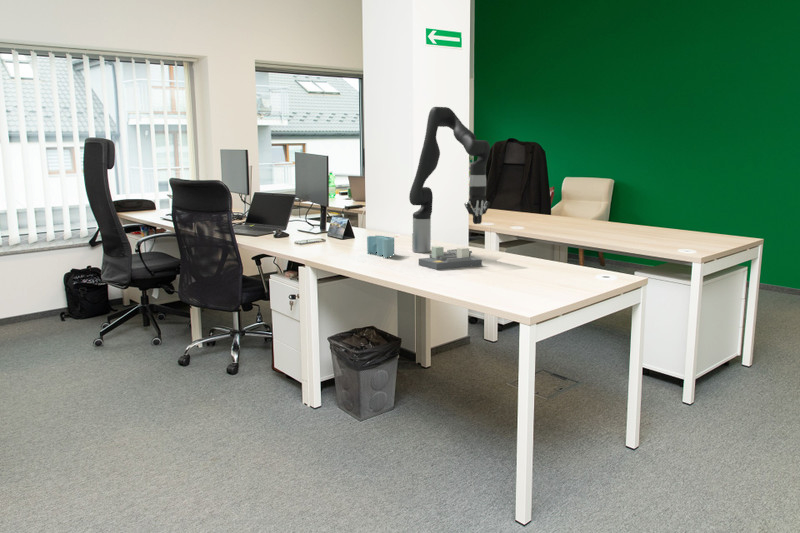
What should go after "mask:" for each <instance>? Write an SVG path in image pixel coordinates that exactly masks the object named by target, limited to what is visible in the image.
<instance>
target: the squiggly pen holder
mask: <svg viewBox="0 0 800 533" xmlns="http://www.w3.org/2000/svg"><path fill="white" fill-rule="evenodd" d="M376 252H377V253H376ZM366 253H367V255H370V254H369V253H371V254H376V256H377V255H378V256H377V257H382V258H383V257H385V258H384V259H388V258H387V257H390V256H393V257H394V255H395V236H393V237H392V236H385V235H367V236H366ZM393 254H394V255H393ZM380 255H381V256H380ZM382 255H383V256H382ZM390 258H391V257H390Z"/></svg>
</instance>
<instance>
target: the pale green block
mask: <svg viewBox="0 0 800 533" xmlns="http://www.w3.org/2000/svg"><path fill="white" fill-rule="evenodd" d="M444 253H445V252H444V247H443V246H441V245H437V246H431V254H432V257H431V258H435V259H436V256H443V255H444Z"/></svg>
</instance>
